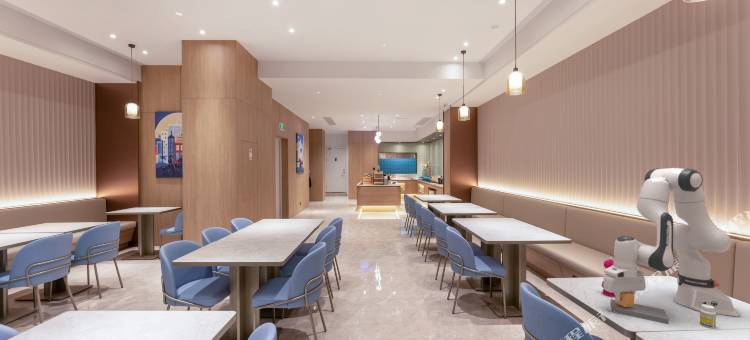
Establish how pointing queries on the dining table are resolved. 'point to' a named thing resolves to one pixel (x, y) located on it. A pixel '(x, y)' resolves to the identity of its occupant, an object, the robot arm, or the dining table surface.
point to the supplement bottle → (707, 316)
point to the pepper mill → (606, 264)
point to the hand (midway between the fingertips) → (624, 300)
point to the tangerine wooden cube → (626, 299)
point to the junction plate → (641, 312)
